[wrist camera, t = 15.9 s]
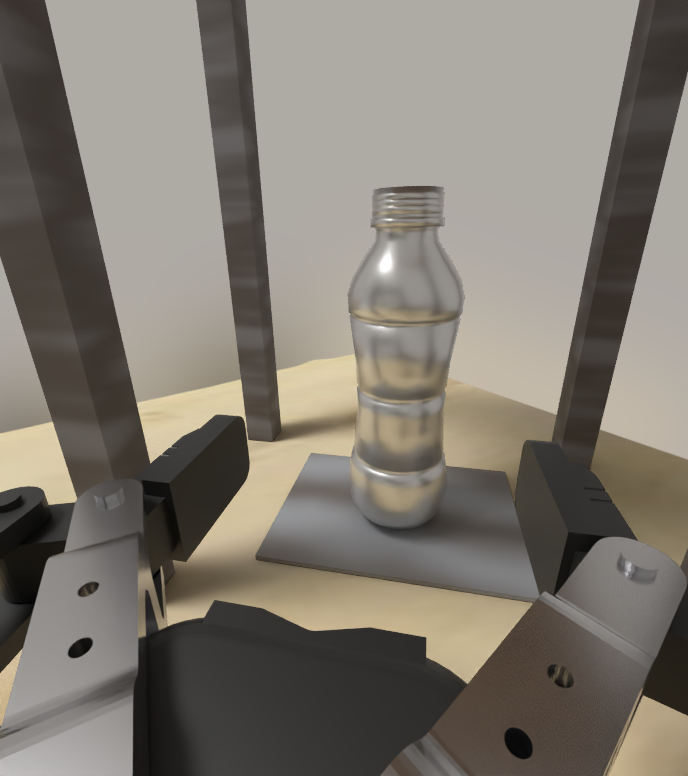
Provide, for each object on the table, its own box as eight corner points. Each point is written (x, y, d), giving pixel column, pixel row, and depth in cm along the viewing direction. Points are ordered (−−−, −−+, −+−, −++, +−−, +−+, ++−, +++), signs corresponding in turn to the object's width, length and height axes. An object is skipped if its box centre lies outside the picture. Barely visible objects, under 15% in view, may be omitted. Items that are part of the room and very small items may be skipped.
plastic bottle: (406, 472, 32) (419, 194, 25) (465, 524, 27) (505, 184, 19) (332, 496, 30) (322, 193, 22) (381, 559, 24) (390, 180, 16)
